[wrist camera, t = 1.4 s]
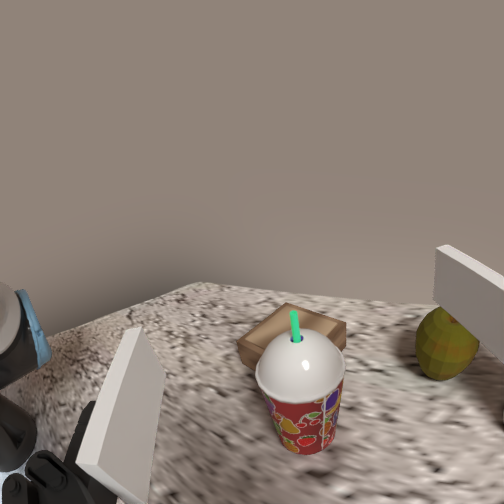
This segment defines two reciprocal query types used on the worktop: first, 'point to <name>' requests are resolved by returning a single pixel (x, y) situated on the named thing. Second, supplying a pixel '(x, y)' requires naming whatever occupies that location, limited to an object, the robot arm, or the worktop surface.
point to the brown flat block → (280, 322)
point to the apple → (444, 345)
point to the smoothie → (302, 387)
